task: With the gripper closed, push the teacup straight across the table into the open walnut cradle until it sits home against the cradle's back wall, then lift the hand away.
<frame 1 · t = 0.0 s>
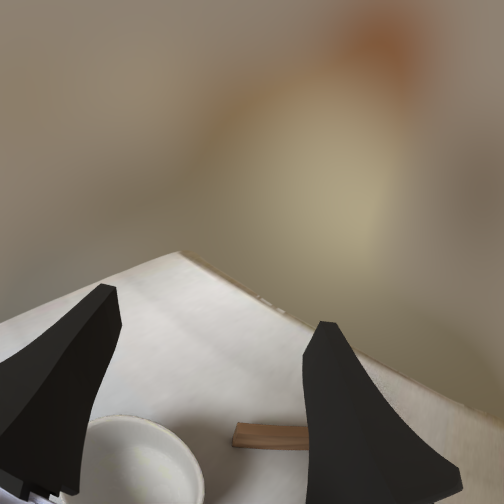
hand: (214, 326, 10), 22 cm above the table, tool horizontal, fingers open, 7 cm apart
teacup: (126, 489, 18), on the table
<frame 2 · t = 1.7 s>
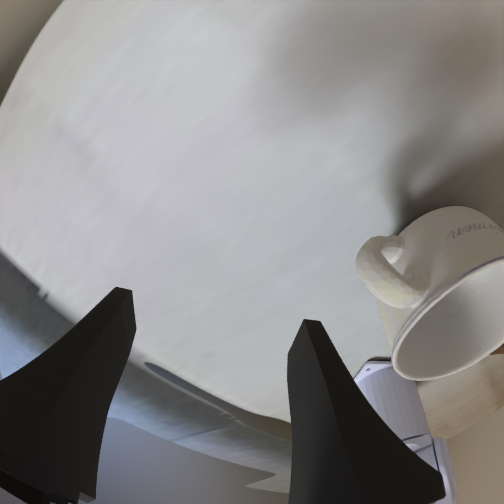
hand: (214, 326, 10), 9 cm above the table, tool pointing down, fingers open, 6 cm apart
teacup: (414, 243, 19), on the table
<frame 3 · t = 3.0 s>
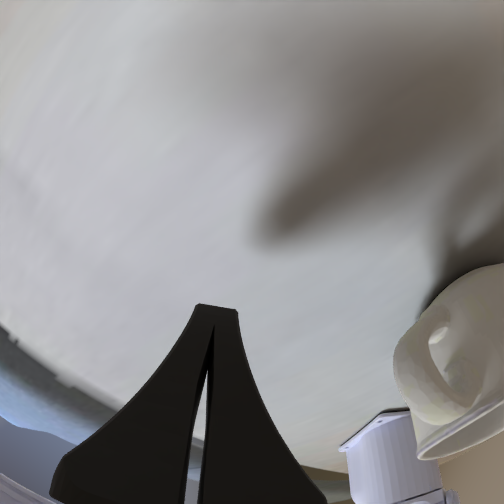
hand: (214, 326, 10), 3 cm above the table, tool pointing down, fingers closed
teacup: (451, 298, 14), on the table
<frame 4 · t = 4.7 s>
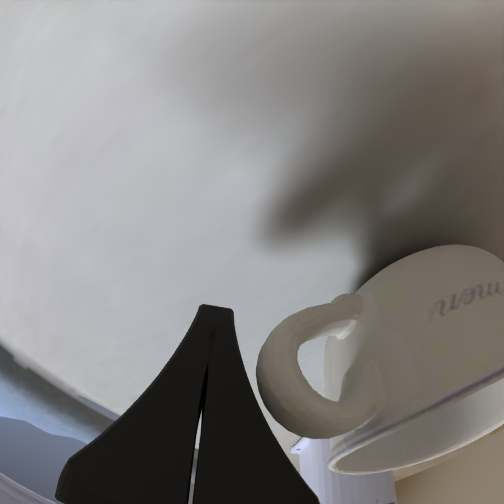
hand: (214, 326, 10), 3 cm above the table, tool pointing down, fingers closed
teacup: (390, 290, 14), on the table, touching gripper
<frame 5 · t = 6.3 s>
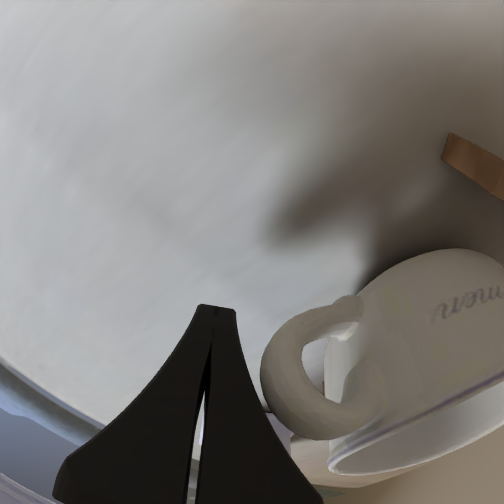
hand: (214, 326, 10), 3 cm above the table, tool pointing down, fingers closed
teacup: (390, 292, 14), on the table, touching gripper
cradle: (473, 305, 14), on the table
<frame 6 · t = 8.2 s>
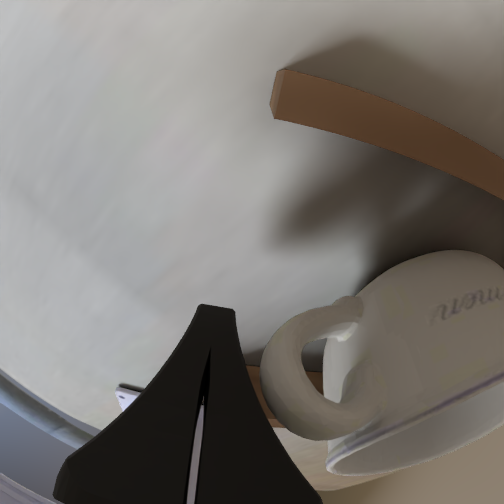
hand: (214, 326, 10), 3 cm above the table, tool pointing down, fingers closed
teacup: (389, 293, 14), on the table, touching gripper
cradle: (385, 292, 14), on the table
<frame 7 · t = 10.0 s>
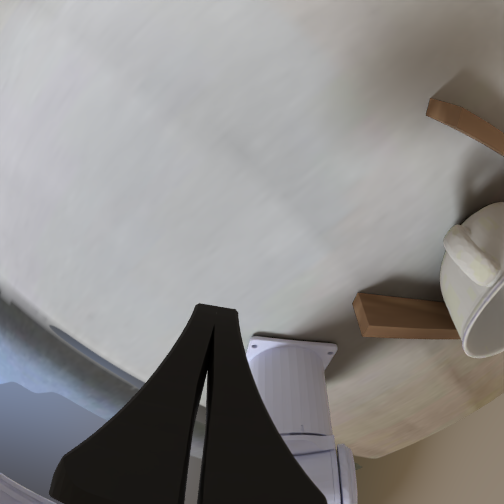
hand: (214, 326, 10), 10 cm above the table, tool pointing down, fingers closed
teacup: (467, 234, 19), on the table
cradle: (465, 233, 19), on the table
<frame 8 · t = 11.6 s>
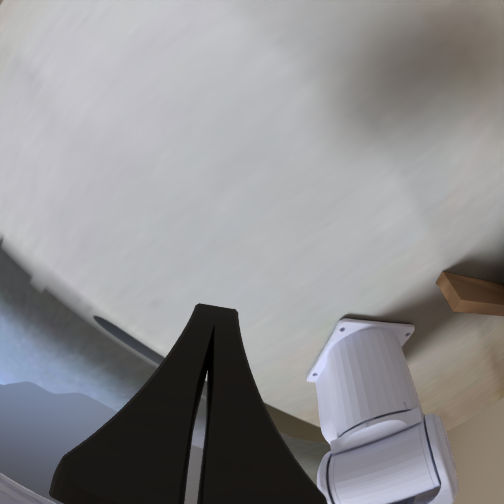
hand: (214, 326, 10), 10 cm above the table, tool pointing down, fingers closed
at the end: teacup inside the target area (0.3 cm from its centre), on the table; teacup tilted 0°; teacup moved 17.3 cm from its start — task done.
